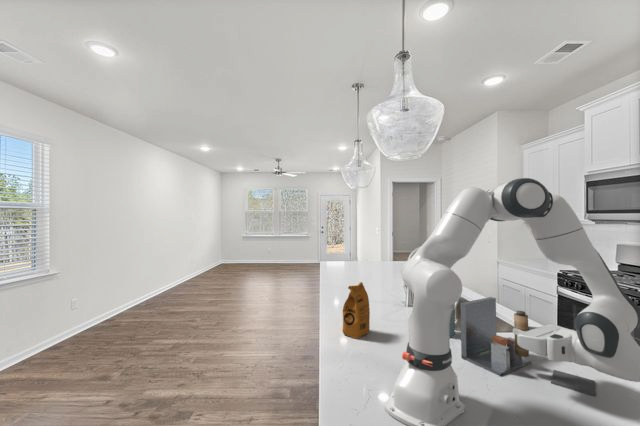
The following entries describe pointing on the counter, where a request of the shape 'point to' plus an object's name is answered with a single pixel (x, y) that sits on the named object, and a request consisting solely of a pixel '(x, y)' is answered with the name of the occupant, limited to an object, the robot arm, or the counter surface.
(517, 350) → the brown bottle
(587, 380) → the bar
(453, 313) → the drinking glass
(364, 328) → the coffee package
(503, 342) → the breaker toggle
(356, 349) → the counter surface
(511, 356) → the grey l-shaped stand
